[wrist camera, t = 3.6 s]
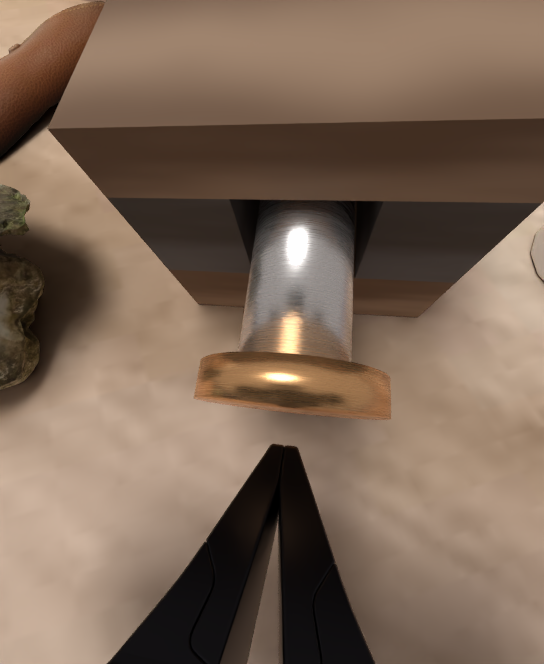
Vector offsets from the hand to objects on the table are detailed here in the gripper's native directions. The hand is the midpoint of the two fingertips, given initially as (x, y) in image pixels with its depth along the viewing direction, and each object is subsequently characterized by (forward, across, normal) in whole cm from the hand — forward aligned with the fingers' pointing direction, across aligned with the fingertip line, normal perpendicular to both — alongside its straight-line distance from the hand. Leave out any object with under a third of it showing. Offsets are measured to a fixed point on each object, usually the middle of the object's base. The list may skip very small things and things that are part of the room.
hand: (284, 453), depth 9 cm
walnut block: (+15, 0, -5) cm, 16 cm away
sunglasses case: (+27, +26, -15) cm, 41 cm away
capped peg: (+8, 0, -3) cm, 8 cm away
